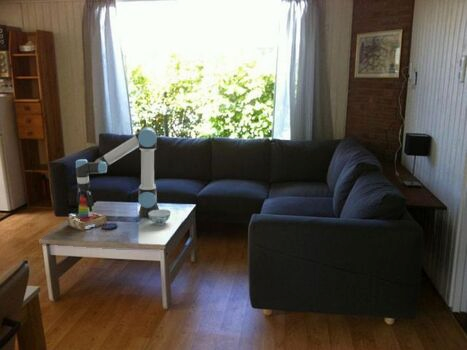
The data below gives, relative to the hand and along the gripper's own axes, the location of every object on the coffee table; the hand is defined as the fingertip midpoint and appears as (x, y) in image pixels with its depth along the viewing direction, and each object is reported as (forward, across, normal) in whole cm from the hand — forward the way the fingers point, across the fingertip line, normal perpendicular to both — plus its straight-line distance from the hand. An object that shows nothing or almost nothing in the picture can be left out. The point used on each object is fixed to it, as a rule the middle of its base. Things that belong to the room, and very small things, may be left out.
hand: (86, 214), depth 283 cm
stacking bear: (+4, 0, 0) cm, 4 cm away
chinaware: (+7, -38, -32) cm, 50 cm away
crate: (+7, 0, 0) cm, 7 cm away
